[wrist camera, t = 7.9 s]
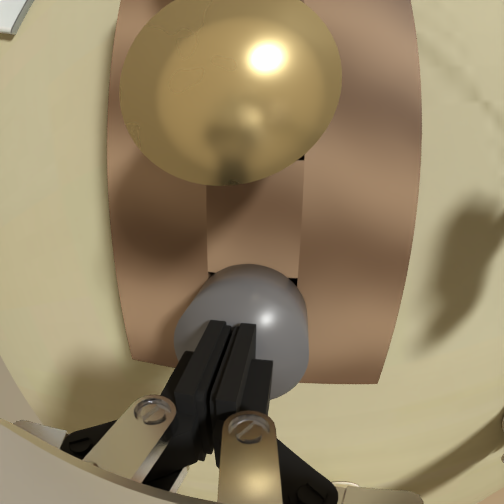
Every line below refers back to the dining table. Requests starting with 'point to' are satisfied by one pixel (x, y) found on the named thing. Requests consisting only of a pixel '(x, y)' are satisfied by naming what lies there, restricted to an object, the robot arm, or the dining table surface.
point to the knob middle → (230, 88)
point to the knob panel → (285, 204)
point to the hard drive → (13, 14)
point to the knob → (253, 318)
